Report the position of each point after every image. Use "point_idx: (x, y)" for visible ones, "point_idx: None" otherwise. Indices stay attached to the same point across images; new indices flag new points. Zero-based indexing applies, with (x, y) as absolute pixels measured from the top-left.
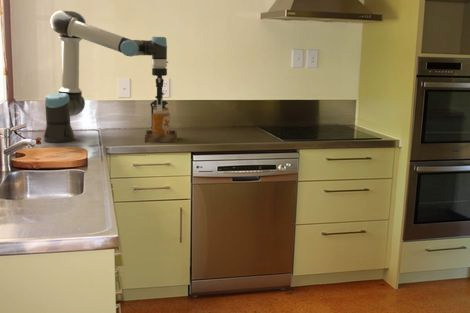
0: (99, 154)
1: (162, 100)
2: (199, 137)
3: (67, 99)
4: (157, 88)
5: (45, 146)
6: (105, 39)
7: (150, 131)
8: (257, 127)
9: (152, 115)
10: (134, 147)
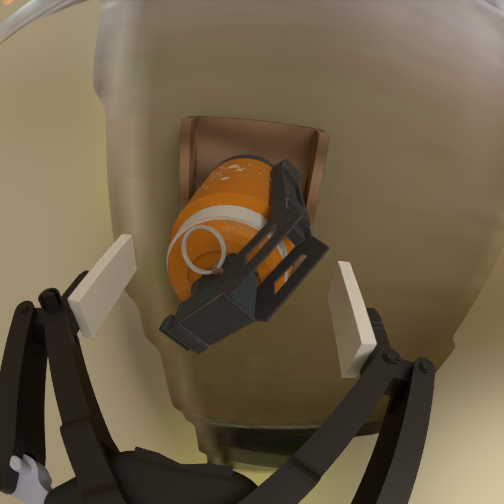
0: (30, 16)
1: (335, 337)
2: (284, 324)
3: None
4: (4, 373)
5: None
6: None
7: (315, 154)
8: (376, 419)
9: (223, 189)
10: (100, 84)
